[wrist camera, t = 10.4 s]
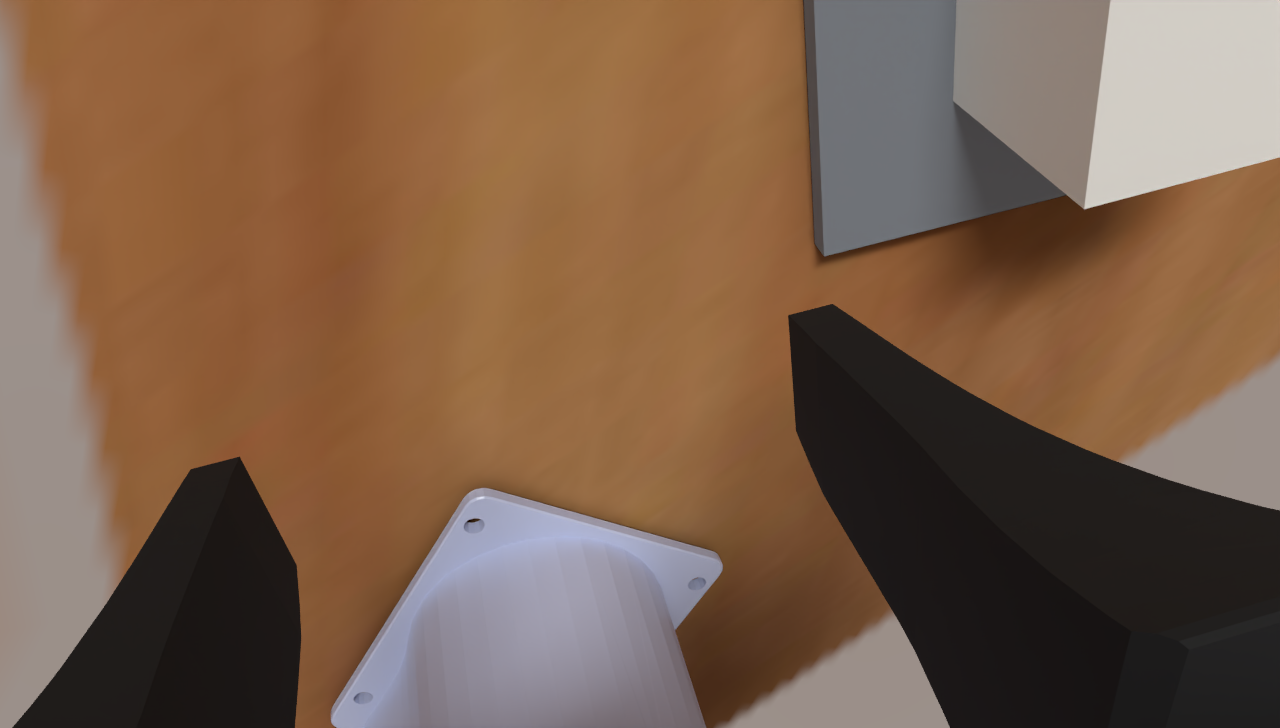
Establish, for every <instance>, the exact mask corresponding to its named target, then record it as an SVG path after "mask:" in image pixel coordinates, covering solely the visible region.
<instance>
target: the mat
mask: <svg viewBox="0 0 1280 728" xmlns="http://www.w3.org/2000/svg"><path fill="white" fill-rule="evenodd" d="M804 19H805V41H806V63H807V85H808V107H809V129H810V151H811V173H812V194H813V216H814V238H815V245H816V246H817V247H818V249H819V250H820V252H821V253H822V254H823V256H828V255H832V254H836V253H840V252H844V251H848V250H852V249H856V248H860V247H864V246H868V245H872V244H875V243H879V242H883V241H887V240H891V239H895V238H899V237H903V236H907V235H911V234H915V233H919V232H923V231H927V230H931V229H935V228H939V227H943V226H947V225H951V224H954V223H958V222H962V221H966V220H970V219H974V218H978V217H982V216H986V215H990V214H994V213H998V212H1002V211H1006V210H1010V209H1014V208H1018V207H1022V206H1026V205H1030V204H1034V203H1037V202H1041V201H1045V200H1049V199H1053V198H1057V197H1061V196H1065V195H1066V194H1065V193H1064V192H1063V191H1061V190H1060V189H1059V188H1058V187H1056V186H1055V185H1054V184H1053V183H1052V182H1050V181H1049V180H1048V179H1047V178H1046V177H1044V176H1043V175H1042V174H1041V173H1040V172H1038V171H1037V170H1036V169H1035V168H1034V167H1032V166H1031V165H1030V164H1029V163H1027V162H1026V161H1025V160H1024V159H1023V158H1021V157H1020V156H1019V155H1018V154H1017V153H1015V152H1014V151H1013V150H1012V149H1011V148H1009V147H1008V146H1007V145H1006V144H1005V143H1003V142H1002V141H1001V140H1000V139H998V138H997V137H996V136H995V135H994V134H992V133H991V132H990V131H989V130H988V129H986V128H985V127H984V126H983V125H982V124H980V123H979V122H978V121H977V120H975V119H974V118H973V117H972V116H971V115H969V114H968V113H967V112H966V111H965V110H963V109H962V108H961V107H960V106H959V105H957V104H956V103H955V102H954V101H953V89H954V59H955V30H956V0H804Z"/></svg>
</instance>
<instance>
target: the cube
mask: <svg viewBox="0 0 1280 728" xmlns="http://www.w3.org/2000/svg"><path fill="white" fill-rule="evenodd" d="M953 101H954V102H955V103H956V104H957V105H959V106H960V107H961V108H962V109H963V110H965V111H966V112H967V113H968V114H969V115H971V116H972V117H973V118H974V119H975V120H977V121H978V122H979V123H980V124H982V125H983V126H984V127H985V128H986V129H988V130H989V131H990V132H991V133H992V134H994V135H995V136H996V137H997V138H998V139H1000V140H1001V141H1002V142H1003V143H1005V144H1006V145H1007V146H1008V147H1009V148H1011V149H1012V150H1013V151H1014V152H1015V153H1017V154H1018V155H1019V156H1020V157H1021V158H1023V159H1024V160H1025V161H1026V162H1027V163H1029V164H1030V165H1031V166H1032V167H1034V168H1035V169H1036V170H1037V171H1038V172H1040V173H1041V174H1042V175H1043V176H1044V177H1046V178H1047V179H1048V180H1049V181H1050V182H1052V183H1053V184H1054V185H1055V186H1056V187H1058V188H1059V189H1060V190H1061V191H1063V192H1064V193H1065V194H1066V195H1067V196H1069V197H1070V198H1071V199H1072V200H1073V201H1075V202H1076V203H1077V204H1078V205H1079V206H1081V207H1082V208H1083V209H1087V208H1091V207H1095V206H1098V205H1102V204H1106V203H1110V202H1114V201H1117V200H1121V199H1125V198H1129V197H1132V196H1136V195H1140V194H1144V193H1147V192H1151V191H1155V190H1159V189H1162V188H1166V187H1170V186H1174V185H1177V184H1181V183H1185V182H1189V181H1192V180H1196V179H1200V178H1204V177H1207V176H1211V175H1215V174H1219V173H1222V172H1226V171H1230V170H1234V169H1238V168H1241V167H1245V166H1249V165H1253V164H1256V163H1260V162H1264V161H1268V160H1271V159H1275V158H1279V157H1280V0H956V30H955V59H954V89H953Z"/></svg>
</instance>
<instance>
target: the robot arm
mask: <svg viewBox="0 0 1280 728" xmlns="http://www.w3.org/2000/svg"><path fill="white" fill-rule="evenodd" d="M788 318H789V332H790V347H791V362H792V377H793V392H794V406H795V421H796V432H797V434H798V437H799V439H800V441H801V444H802V446H803V448H804V451H805V453H806V456H807V458H808V460H809V463H810V465H811V468H812V470H813V472H814V474H815V477H816V479H817V481H818V483H819V486H820V488H821V490H822V492H823V494H824V496H825V498H826V500H827V501H828V503H829V505H830V506H831V508H832V510H833V512H834V513H835V515H836V517H837V518H838V520H839V522H840V523H841V525H842V527H843V529H844V530H845V532H846V534H847V535H848V537H849V539H850V540H851V542H852V544H853V545H854V547H855V549H856V550H857V552H858V554H859V555H860V557H861V559H862V560H863V562H864V564H865V565H866V567H867V569H868V570H869V572H870V574H871V575H872V577H873V579H874V580H875V582H876V584H877V586H878V587H879V589H880V591H881V592H882V594H883V596H884V597H885V599H886V601H887V602H888V604H889V606H890V607H891V609H892V611H893V612H894V614H895V616H896V617H897V619H898V621H899V622H900V624H901V626H902V628H903V630H904V631H905V633H906V635H907V637H908V639H909V641H910V643H911V644H912V646H913V648H914V650H915V652H916V654H917V656H918V658H919V661H920V663H921V665H922V667H923V669H924V672H925V674H926V676H927V678H928V680H929V682H930V685H931V687H932V689H933V691H934V693H935V695H936V697H937V699H938V702H939V704H940V706H941V708H942V710H943V713H944V715H945V717H946V719H947V721H948V724H949V726H950V728H1280V511H1279V510H1275V509H1270V508H1266V507H1261V506H1258V505H1254V504H1250V503H1246V502H1242V501H1239V500H1235V499H1232V498H1228V497H1224V496H1221V495H1217V494H1214V493H1210V492H1206V491H1202V490H1199V489H1196V488H1192V487H1189V486H1186V485H1183V484H1180V483H1177V482H1173V481H1170V480H1167V479H1164V478H1161V477H1158V476H1155V475H1153V474H1150V473H1147V472H1144V471H1141V470H1139V469H1136V468H1133V467H1130V466H1127V465H1125V464H1122V463H1119V462H1116V461H1113V460H1111V459H1108V458H1106V457H1103V456H1101V455H1098V454H1096V453H1093V452H1090V451H1088V450H1086V449H1083V448H1081V447H1079V446H1076V445H1074V444H1072V443H1070V442H1067V441H1065V440H1063V439H1061V438H1058V437H1056V436H1054V435H1052V434H1049V433H1047V432H1045V431H1043V430H1040V429H1038V428H1036V427H1034V426H1032V425H1030V424H1028V423H1026V422H1024V421H1022V420H1020V419H1017V418H1016V417H1014V416H1012V415H1010V414H1008V413H1006V412H1004V411H1002V410H1000V409H999V408H997V407H995V406H993V405H991V404H989V403H987V402H986V401H984V400H982V399H980V398H978V397H976V396H974V395H973V394H971V393H969V392H967V391H966V390H964V389H962V388H961V387H959V386H957V385H955V384H954V383H952V382H950V381H949V380H947V379H946V378H944V377H942V376H941V375H939V374H938V373H936V372H934V371H933V370H931V369H929V368H928V367H926V366H925V365H923V364H921V363H920V362H918V361H917V360H915V359H914V358H912V357H911V356H909V355H908V354H906V353H905V352H903V351H902V350H900V349H899V348H897V347H896V346H894V345H893V344H891V343H890V342H888V341H887V340H885V339H884V338H882V337H881V336H879V335H878V334H876V333H875V332H873V331H872V330H870V329H869V328H867V327H866V326H865V325H863V324H862V323H860V322H859V321H857V320H856V319H854V318H853V317H851V316H850V315H848V314H847V313H845V312H844V311H842V310H841V309H839V308H838V307H836V306H835V305H833V304H831V305H827V306H823V307H819V308H815V309H811V310H807V311H803V312H800V313H796V314H792V315H788ZM473 518H477V519H480V520H479V521H477V522H474V523H471V522H467V521H468V520H470V519H473ZM722 570H723V564H722V562H721V559H720V557H719V555H718V554H717V553H715V552H713V551H710V550H707V549H703V548H700V547H696V546H693V545H689V544H685V543H682V542H678V541H675V540H671V539H668V538H664V537H661V536H657V535H653V534H650V533H646V532H643V531H639V530H636V529H632V528H628V527H625V526H621V525H618V524H614V523H611V522H607V521H604V520H600V519H596V518H593V517H589V516H586V515H582V514H579V513H575V512H571V511H568V510H564V509H561V508H557V507H554V506H550V505H547V504H543V503H539V502H536V501H532V500H529V499H525V498H522V497H518V496H514V495H511V494H507V493H504V492H500V491H497V490H493V489H488V488H480V489H475V490H473V491H471V492H469V493H468V494H467V495H466V496H465V497H464V498H463V500H462V501H461V503H460V505H459V506H458V508H457V509H456V511H455V513H454V514H453V516H452V517H451V519H450V521H449V522H448V524H447V525H446V527H445V528H444V530H443V532H442V533H441V535H440V536H439V538H438V540H437V541H436V543H435V544H434V546H433V548H432V549H431V551H430V552H429V554H428V556H427V557H426V559H425V560H424V562H423V563H422V565H421V567H420V568H419V570H418V571H417V573H416V575H415V576H414V578H413V579H412V581H411V583H410V584H409V586H408V587H407V589H406V591H405V592H404V594H403V595H402V597H401V599H400V600H399V602H398V603H397V605H396V606H395V608H394V610H393V611H392V613H391V614H390V616H389V618H388V619H387V621H386V622H385V624H384V626H383V627H382V629H381V630H380V632H379V634H378V635H377V637H376V638H375V640H374V641H373V643H372V645H371V646H370V648H369V649H368V651H367V653H366V654H365V656H364V657H363V659H362V661H361V662H360V664H359V665H358V667H357V669H356V670H355V672H354V673H353V675H352V676H351V678H350V680H349V681H348V683H347V684H346V686H345V688H344V689H343V691H342V692H341V694H340V696H339V697H338V699H337V700H336V702H335V704H334V705H333V707H332V710H331V722H332V725H334V726H335V727H336V728H706V726H705V723H704V719H703V716H702V713H701V710H700V707H699V704H698V701H697V698H696V695H695V691H694V688H693V685H692V682H691V679H690V676H689V673H688V670H687V667H686V663H685V660H684V657H683V654H682V651H681V648H680V645H679V642H678V639H677V635H676V632H675V630H676V628H677V627H678V626H679V625H680V624H681V622H682V621H683V620H684V619H685V617H686V616H687V615H688V614H689V612H690V611H691V610H692V609H693V607H694V606H695V605H696V604H697V603H698V601H699V600H700V599H701V598H702V596H703V595H704V594H705V593H706V591H707V590H708V589H709V588H710V586H711V585H712V584H713V583H714V581H715V580H716V579H717V578H718V577H719V575H720V574H721V572H722ZM697 577H699V578H697ZM694 578H697V579H694ZM692 579H694V580H692ZM300 648H301V624H300V604H299V591H298V578H297V565H296V563H295V561H294V559H293V557H292V556H291V554H290V552H289V550H288V548H287V546H286V544H285V542H284V540H283V538H282V537H281V535H280V533H279V531H278V529H277V527H276V525H275V523H274V521H273V519H272V518H271V516H270V514H269V512H268V510H267V508H266V506H265V504H264V502H263V500H262V499H261V497H260V495H259V493H258V491H257V489H256V487H255V485H254V483H253V481H252V480H251V478H250V476H249V474H248V472H247V470H246V468H245V466H244V464H243V462H242V461H241V459H240V457H237V458H233V459H229V460H225V461H221V462H218V463H214V464H210V465H206V466H202V467H198V468H194V469H191V470H190V471H189V473H188V475H187V476H186V478H185V479H184V481H183V482H182V484H181V486H180V487H179V489H178V490H177V492H176V493H175V495H174V497H173V498H172V500H171V502H170V503H169V505H168V506H167V508H166V510H165V511H164V513H163V514H162V516H161V518H160V519H159V521H158V523H157V524H156V526H155V528H154V529H153V531H152V532H151V534H150V536H149V537H148V539H147V541H146V542H145V544H144V545H143V547H142V549H141V550H140V552H139V554H138V555H137V557H136V558H135V560H134V562H133V563H132V565H131V566H130V568H129V569H128V571H127V572H126V574H125V575H124V577H123V579H122V580H121V582H120V583H119V585H118V586H117V588H116V589H115V591H114V593H113V594H112V596H111V597H110V599H109V600H108V602H107V603H106V605H105V606H104V608H103V609H102V611H101V612H100V613H99V615H98V616H97V618H96V619H95V620H94V622H93V623H92V625H91V626H90V628H89V629H88V630H87V632H86V633H85V635H84V636H83V637H82V639H81V640H80V642H79V643H78V645H77V646H76V647H75V649H74V650H73V652H72V653H71V654H70V656H69V657H68V659H67V660H66V662H65V663H64V664H63V666H62V667H61V668H60V670H59V671H58V672H57V673H56V675H55V676H54V678H53V679H52V680H51V681H50V683H49V684H48V685H47V686H46V688H45V689H44V690H43V692H42V693H41V694H40V695H39V696H38V698H37V699H36V700H35V702H34V703H33V704H32V705H31V707H30V708H29V709H28V710H27V711H26V712H25V713H24V715H23V716H22V717H21V718H20V719H19V721H18V722H17V723H16V724H15V725H14V727H13V728H295V717H296V705H297V691H298V677H299V663H300Z"/></svg>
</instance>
